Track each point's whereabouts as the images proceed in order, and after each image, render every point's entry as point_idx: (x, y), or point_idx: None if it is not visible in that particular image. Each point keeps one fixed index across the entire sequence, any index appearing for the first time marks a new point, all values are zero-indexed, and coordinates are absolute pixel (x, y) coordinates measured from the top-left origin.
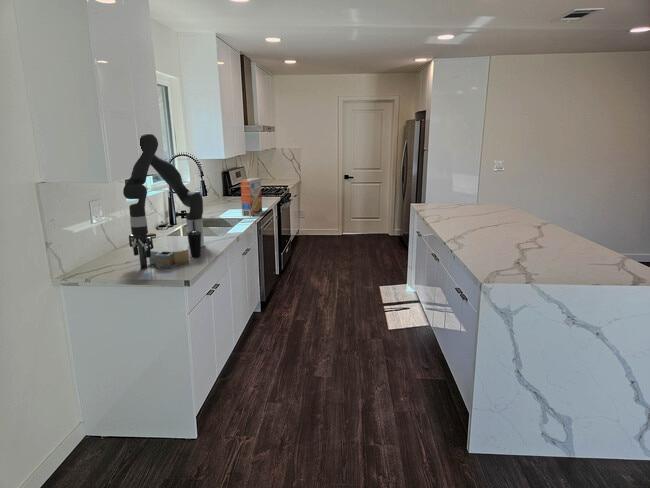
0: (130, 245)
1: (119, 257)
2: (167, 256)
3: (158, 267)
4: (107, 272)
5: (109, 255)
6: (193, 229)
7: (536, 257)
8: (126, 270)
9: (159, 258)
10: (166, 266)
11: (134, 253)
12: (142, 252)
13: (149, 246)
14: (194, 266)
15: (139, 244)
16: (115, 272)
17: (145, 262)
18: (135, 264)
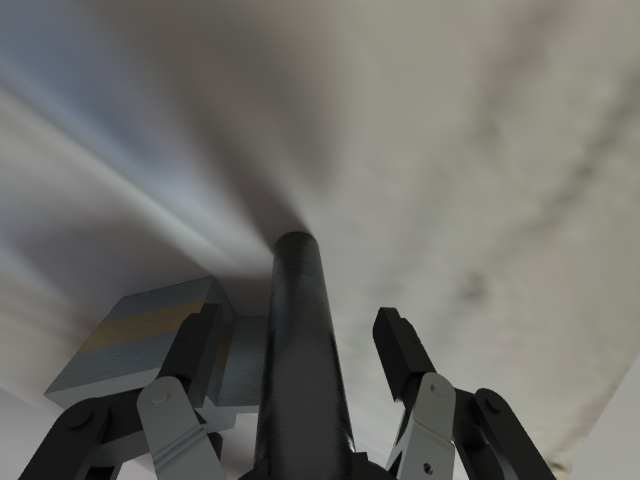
0: (492, 408)
1: (560, 331)
2: (64, 379)
3: (197, 282)
4: (515, 61)
5: (623, 334)
6: None
7: None
8: (384, 166)
9: (152, 342)
10: (135, 303)
11: (395, 321)
12: (271, 344)
13: (24, 475)
14: (34, 367)
15: (296, 469)
16: (443, 87)
17: (272, 277)
18: (406, 283)
